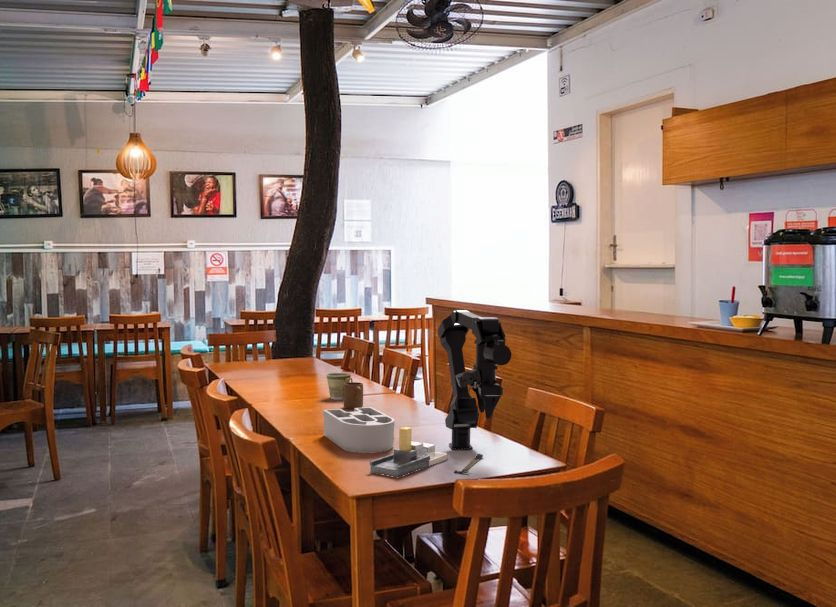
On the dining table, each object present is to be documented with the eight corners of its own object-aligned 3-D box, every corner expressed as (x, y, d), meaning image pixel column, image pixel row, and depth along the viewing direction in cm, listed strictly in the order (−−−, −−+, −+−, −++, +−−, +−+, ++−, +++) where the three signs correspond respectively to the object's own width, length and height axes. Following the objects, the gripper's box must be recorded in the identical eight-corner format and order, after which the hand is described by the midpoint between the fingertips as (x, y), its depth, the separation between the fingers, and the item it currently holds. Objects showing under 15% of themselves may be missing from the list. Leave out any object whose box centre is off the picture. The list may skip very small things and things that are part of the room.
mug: (369, 410, 300) (369, 386, 299) (350, 411, 297) (350, 387, 296) (359, 405, 311) (359, 381, 310) (340, 406, 308) (341, 382, 308)
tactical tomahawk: (476, 480, 209) (476, 476, 209) (452, 475, 212) (453, 471, 212) (497, 461, 229) (498, 457, 229) (476, 456, 231) (476, 452, 231)
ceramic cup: (321, 398, 326) (321, 374, 325) (338, 395, 333) (339, 372, 333) (343, 402, 317) (343, 377, 317) (360, 399, 325) (360, 375, 324)
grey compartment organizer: (371, 432, 262) (371, 407, 262) (402, 451, 236) (402, 423, 236) (322, 436, 256) (323, 409, 255) (349, 456, 230) (349, 426, 229)
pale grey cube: (411, 455, 223) (411, 441, 223) (423, 457, 221) (423, 443, 220) (403, 458, 219) (403, 443, 219) (415, 460, 217) (415, 445, 217)
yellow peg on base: (399, 458, 219) (400, 426, 219) (416, 461, 216) (417, 428, 216) (393, 460, 217) (394, 427, 216) (410, 463, 214) (411, 430, 213)
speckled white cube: (415, 459, 225) (423, 456, 228) (427, 461, 222) (434, 458, 226) (415, 445, 224) (423, 442, 228) (427, 447, 222) (435, 444, 226)
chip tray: (421, 454, 232) (421, 449, 232) (447, 459, 227) (447, 454, 227) (402, 461, 224) (402, 456, 223) (429, 466, 219) (429, 461, 219)
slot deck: (401, 461, 224) (401, 450, 223) (429, 466, 218) (430, 455, 218) (369, 472, 211) (369, 461, 211) (399, 478, 206) (399, 467, 206)
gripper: (452, 357, 233) (451, 409, 234) (463, 365, 215) (462, 422, 216) (489, 357, 235) (488, 409, 235) (503, 365, 216) (502, 421, 217)
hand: (484, 415), depth 226 cm, fingers open, 9 cm apart
